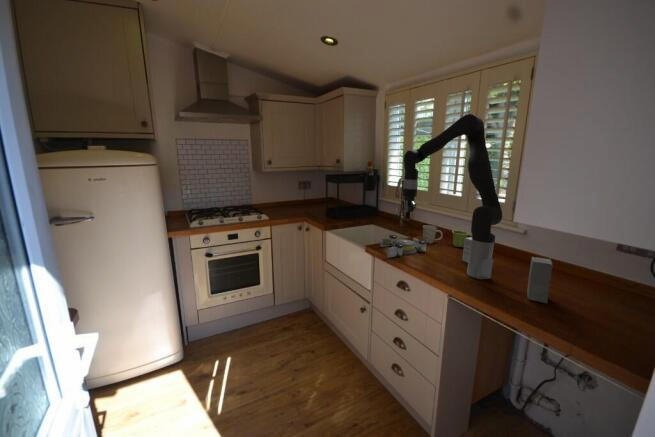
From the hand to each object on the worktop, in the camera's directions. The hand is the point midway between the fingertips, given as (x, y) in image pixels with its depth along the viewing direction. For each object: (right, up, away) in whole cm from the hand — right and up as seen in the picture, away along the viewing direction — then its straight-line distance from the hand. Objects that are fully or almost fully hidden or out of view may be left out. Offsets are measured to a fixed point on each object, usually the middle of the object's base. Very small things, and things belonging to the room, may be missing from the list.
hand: (407, 218), depth 165 cm
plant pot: (+36, -17, +17) cm, 43 cm away
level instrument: (-1, -18, +4) cm, 19 cm away
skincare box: (+38, -32, -48) cm, 69 cm away
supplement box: (+31, -23, -10) cm, 40 cm away
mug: (+22, -15, +23) cm, 35 cm away
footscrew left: (-8, -20, -6) cm, 23 cm away
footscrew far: (-8, -16, +11) cm, 22 cm away
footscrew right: (+8, -18, +7) cm, 21 cm away
